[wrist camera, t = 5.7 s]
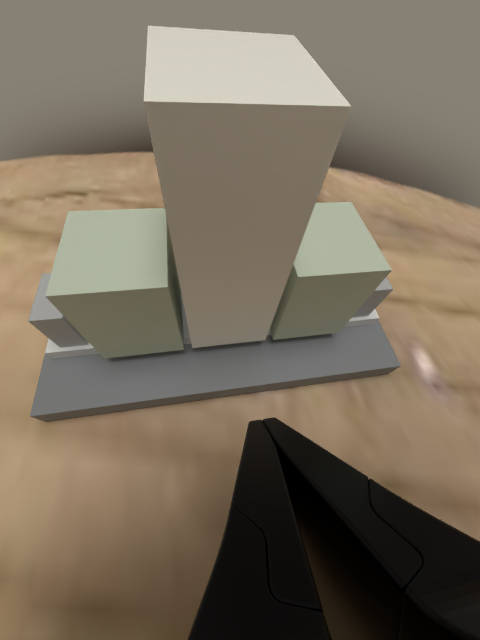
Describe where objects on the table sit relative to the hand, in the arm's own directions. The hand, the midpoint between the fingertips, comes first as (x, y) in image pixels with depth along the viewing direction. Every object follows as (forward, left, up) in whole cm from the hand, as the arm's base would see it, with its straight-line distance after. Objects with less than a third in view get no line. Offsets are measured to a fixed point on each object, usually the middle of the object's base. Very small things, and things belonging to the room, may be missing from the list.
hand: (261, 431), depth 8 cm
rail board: (+7, +4, -8) cm, 11 cm away
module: (+7, +4, -6) cm, 10 cm away
